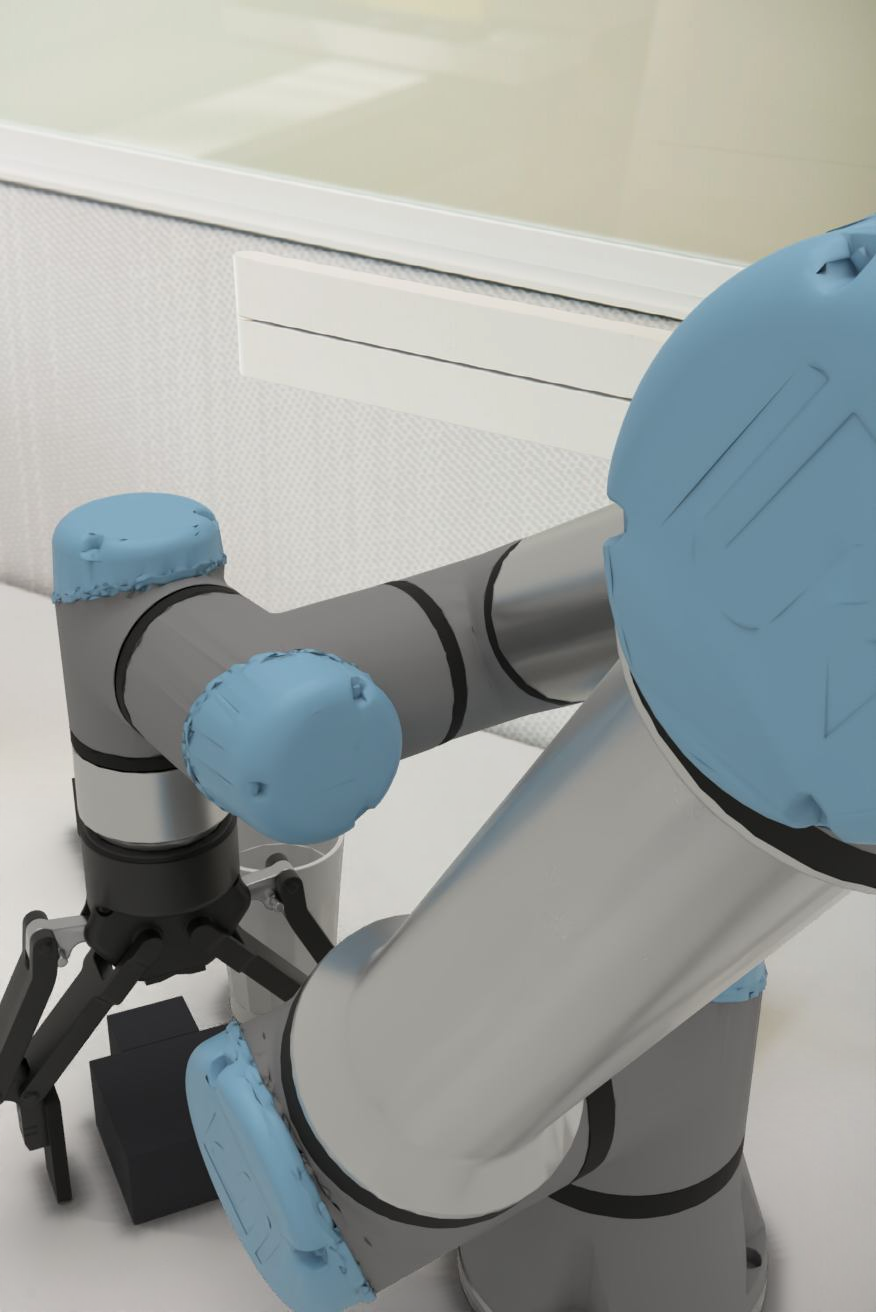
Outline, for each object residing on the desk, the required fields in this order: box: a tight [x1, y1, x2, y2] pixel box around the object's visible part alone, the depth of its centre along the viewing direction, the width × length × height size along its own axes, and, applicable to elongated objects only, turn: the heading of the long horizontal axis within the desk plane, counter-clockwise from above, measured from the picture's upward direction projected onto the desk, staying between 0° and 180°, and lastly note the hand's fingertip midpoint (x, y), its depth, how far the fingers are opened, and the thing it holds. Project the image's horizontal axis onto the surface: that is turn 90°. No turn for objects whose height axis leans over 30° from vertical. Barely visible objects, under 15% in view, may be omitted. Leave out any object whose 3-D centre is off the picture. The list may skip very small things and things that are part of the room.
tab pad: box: [88, 995, 232, 1225], centre depth 88 cm, size 11×8×4 cm
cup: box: [225, 817, 346, 1024], centre depth 97 cm, size 8×8×12 cm
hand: (185, 1146), depth 88 cm, fingers open, 13 cm apart
